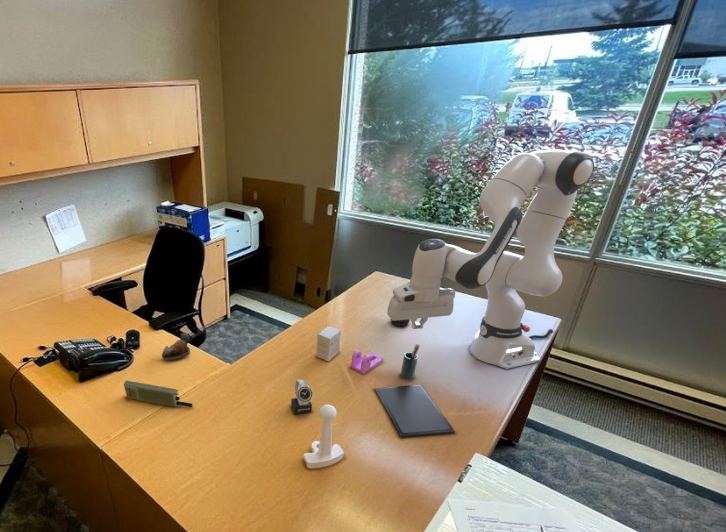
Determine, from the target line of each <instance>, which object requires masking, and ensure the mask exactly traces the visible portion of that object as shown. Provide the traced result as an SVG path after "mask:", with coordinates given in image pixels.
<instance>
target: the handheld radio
mask: <svg viewBox="0 0 726 532" xmlns="http://www.w3.org/2000/svg"><path fill="white" fill-rule="evenodd" d="M123 386H124V391H125V394H126V398H127V399H130V400H131V399H132V400H136V401H140V402H141V401H142V402H147V403H151V404H156V405H157V404H158V405H162V406H168V407H173V408H176V407H177V408H180V407H181V406H183V407H186V408H187V407H188V408H193V403H191V402H185V401H180V396H179V389H176V388H171V387H167V386H162V385H161V386H160V385H155V384H151V383H150V384H148V383H143V382H137V381H133V380H125V381H124V382H123Z"/></svg>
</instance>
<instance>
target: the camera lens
mask: <svg viewBox="0 0 726 532" xmlns="http://www.w3.org/2000/svg"><path fill="white" fill-rule="evenodd" d="M410 322H411V320H410V319H407V320H396V321H393V320H391V319H390V323H391V325H392V326H393V327H395V328H406V327H407V326H408V325H409V323H410Z"/></svg>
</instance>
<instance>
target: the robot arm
mask: <svg viewBox="0 0 726 532" xmlns="http://www.w3.org/2000/svg"><path fill="white" fill-rule="evenodd" d="M594 170H595V161H594V159H593V156H592V155H590V154H588V153H586V152H582V151H570V150H563V149H550V150H549V149H548V150H547V149H546V150H545V149H544V150H536V149H532V150H531V149H530V150H526V151H523V152H521V153H518V154H515V155H514V156H513V157H511V158H510V159H509V160H508V161H507V162H506V163H505V164H504V165H503V166H502V167H501V168H500V169H498V171H497V172H496V173H495V174H494V176H493V177H492V178H490V180H489V182H488V183H487V184H486V186H485V187H484V188H483V190H482V191H481V194H480V195H479V206H480V209H481V210H482V212H483V213H484V214H485V216H486V217H488V218H489V220H491V221H492V222H493V224H494V227H493V230H492V232H491V234H490V235H489V237H488V239H487V240H486V242H485V244H484V245H483V247H482V249H481V250H480V251H478V252H471V251H469V250H467V249H464V248H463V247H459V246H457V245H454V244H449V243H446V242H445V241H444V240H443V239H439V238H429V239H425V240H423V241H421V242H420V243H418V246H417V247H416V250H415V252H414V256H413V260H412V266H411V271H412V275H411V276H410V279H409V282H407V283H404V284H402V285H399V286H397V287H394V288H393V289H392V294H393V295H392V296H391V298H390V299H389V303H388V307H387V312H386V315H387V316H388V317H389V320H390V321H391V320H393V321H396V320H407V319H410V322H411V328H412V330H418V329H419V330H421V329H423V328H424V325H425V323H427V321H428V319H429V318H437V317H449V316H451V315H452V314H453V312H454V305H455V304H454V303H455V302H454V300H455V297H456V291H455V290H454V289H453V288H450V287H448V288H441V285H442V279H443V278H446V279H449V280H451V281H453V282H454V283H455V282H456V283H457V284H458V285H460V286H462V287H463V288H465V289H468V290H475V289H478V288H481V287H483V286H485V288H486V293H487V303H486V308H485V313H484V316H483V317H482V319H481V321H480V325H479V330H478V332H477V333H476V334H475V336H474V338H475V340H474V341H473V343H472V345H470V347H469V352H470V353H471V355H472V356H473V357H475V358H476V359H477V360H480V361H481V362H483V363H486V364H489V365H490V364H491V365H495V366H498V367H500V368H501V369H506V370H508V369H514V368H517V367H521V366H526V365H530V364H535V363H540V360H541V357H540V354H539V353H538V352H537V351H536V350H535V349H536V344H535V343H534V341H533V340H532V339H536V338H537V339H544V338H547V337H549V336H550V335H551V333H553V332H554V331H553V329H551V328H549V329H548V331H547V332H546V333H545V334H544V335H538V334H534V335H529V336H528V335H527V334H525V333H529V332H530V331H531V327H529V326H528V325H527V324H523V323H522V319H523V317H524V314H525V311H526V303H525V301H524V300H523V299H522V297H521V296H520V295H519V294H518V292H521V293H523V294H527V295H530V296H535V297H543V298H544V297H548V296H551V295H553V294H554V293H556V292H557V291H558V290H559V288H560V287H561V286H562V283H563V273H562V271H561V269H560V268H559V266H558V265H557V262H556V259H555V248H556V247H555V246H556V242H557V240H558V238H559V236H560V233H561V232H562V229H563V227H564V225H565V223H566V221H567V219H568V217H569V215H570V213H571V211H572V209H573V206H574V203H575V201H576V197H577V194H578V191H579V189H581V188H583V186H584V185H586V184H587V183H588V181H590V179H591V177H592V175H593V174H594ZM533 189H537V192H536V194H534V196H533V198H532V200H531V201H530V203H529V205H528V207H527V209H526V211H525V213H524V215H523V212H522V210H521V207H522V205H523V203H524V201H526V199H527V198H528V196H529V195H530V194H531V192H532V191H533ZM515 234H516V238H517V240H518V241H519V242H520V243H521V244H522V245H523V246H524V254H523V255H521V254H517V253H513V252H510V251H507V250H506V249H507V247H508V245H509V244H510V242H511V241H512V239H513V237H514V235H515ZM517 291H518V292H517ZM418 319H420V320H419V321H417V320H418Z"/></svg>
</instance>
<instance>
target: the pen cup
mask: <svg viewBox="0 0 726 532" xmlns="http://www.w3.org/2000/svg"><path fill="white" fill-rule="evenodd" d="M412 352H413V351H407V352H404V354H403V359H402V364H401V369H400V376H401V378H403V379H406V380H412V379H414V378H415V374H416V369H417V364H418V359H419V355H418V353H417V354H416V356H415V359H410V357H411V354H412Z"/></svg>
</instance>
